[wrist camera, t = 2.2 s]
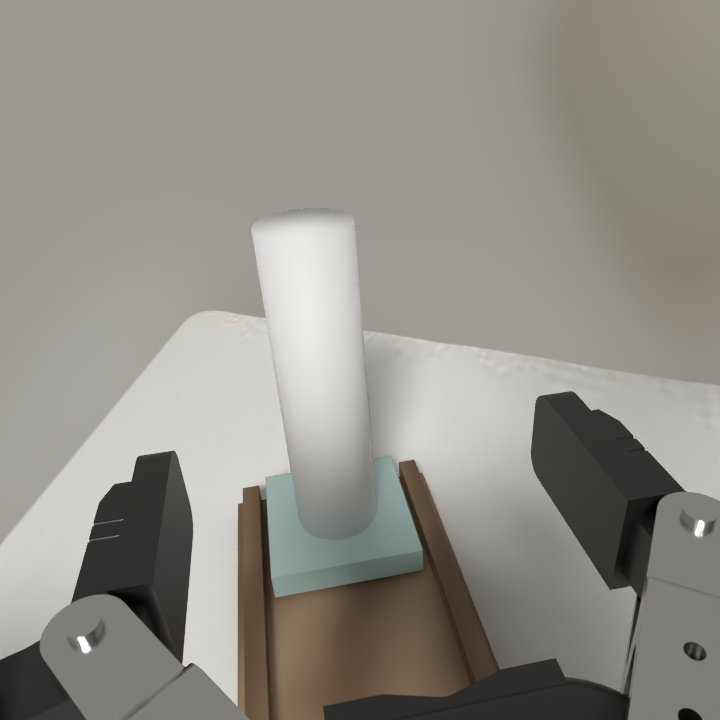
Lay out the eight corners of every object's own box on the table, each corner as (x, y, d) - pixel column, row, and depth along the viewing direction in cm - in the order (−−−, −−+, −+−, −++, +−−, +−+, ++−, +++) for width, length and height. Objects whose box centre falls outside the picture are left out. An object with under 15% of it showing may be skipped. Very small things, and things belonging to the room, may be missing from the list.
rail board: (422, 482, 41) (421, 436, 39) (605, 956, 21) (621, 908, 19) (240, 513, 40) (229, 467, 38) (241, 1052, 19) (219, 1011, 17)
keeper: (392, 474, 40) (375, 189, 31) (423, 569, 34) (413, 241, 24) (269, 495, 40) (214, 208, 30) (275, 597, 33) (206, 267, 23)
